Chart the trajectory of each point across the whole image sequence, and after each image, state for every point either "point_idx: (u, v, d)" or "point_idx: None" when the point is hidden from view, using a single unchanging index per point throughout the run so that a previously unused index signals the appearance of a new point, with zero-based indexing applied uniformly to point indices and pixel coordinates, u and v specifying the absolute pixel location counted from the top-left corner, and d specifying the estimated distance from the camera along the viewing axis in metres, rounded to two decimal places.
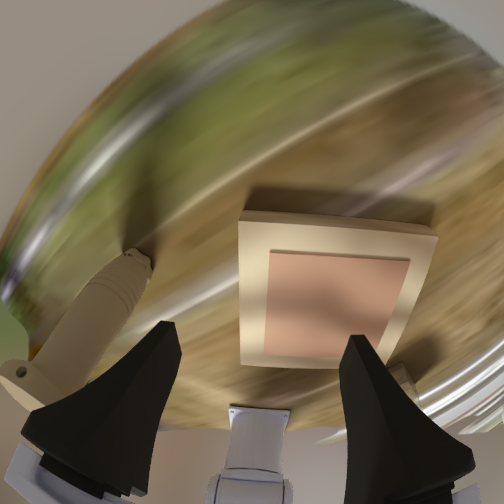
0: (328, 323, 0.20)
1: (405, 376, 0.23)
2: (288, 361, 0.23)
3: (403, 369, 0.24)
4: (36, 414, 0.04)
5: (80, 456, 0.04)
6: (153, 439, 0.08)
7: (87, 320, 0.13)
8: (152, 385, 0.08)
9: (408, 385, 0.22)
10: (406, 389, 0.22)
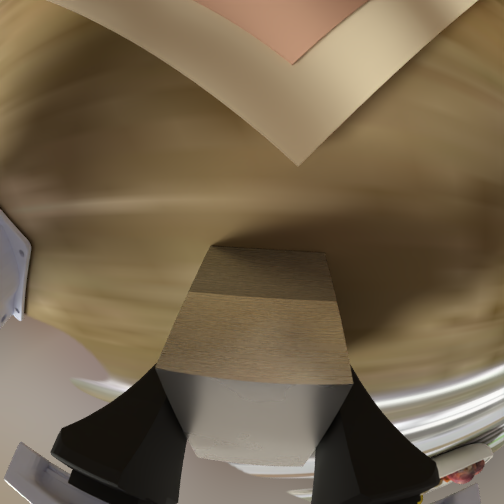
0: None
1: (329, 286, 0.09)
2: None
3: (325, 270, 0.09)
4: (67, 431, 0.04)
5: (125, 476, 0.04)
6: (184, 446, 0.08)
7: None
8: None
9: (335, 312, 0.07)
10: (325, 320, 0.07)
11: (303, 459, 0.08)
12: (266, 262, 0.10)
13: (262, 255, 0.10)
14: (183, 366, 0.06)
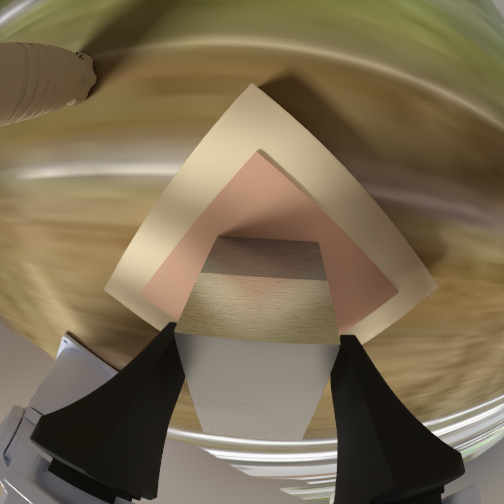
0: None
1: (321, 268, 0.10)
2: (165, 322, 0.16)
3: (318, 256, 0.11)
4: (45, 419, 0.04)
5: (93, 462, 0.04)
6: (163, 442, 0.08)
7: None
8: (162, 387, 0.08)
9: (326, 289, 0.09)
10: (317, 295, 0.09)
11: (301, 431, 0.10)
12: (267, 249, 0.11)
13: (263, 243, 0.12)
14: (197, 330, 0.07)
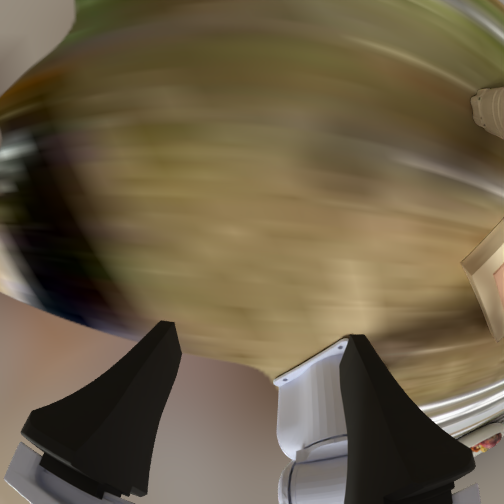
0: None
1: None
2: (490, 295, 0.17)
3: None
4: (36, 413, 0.04)
5: (80, 456, 0.04)
6: (153, 439, 0.08)
7: None
8: (152, 385, 0.08)
9: None
10: None
11: None
12: None
13: None
14: None
